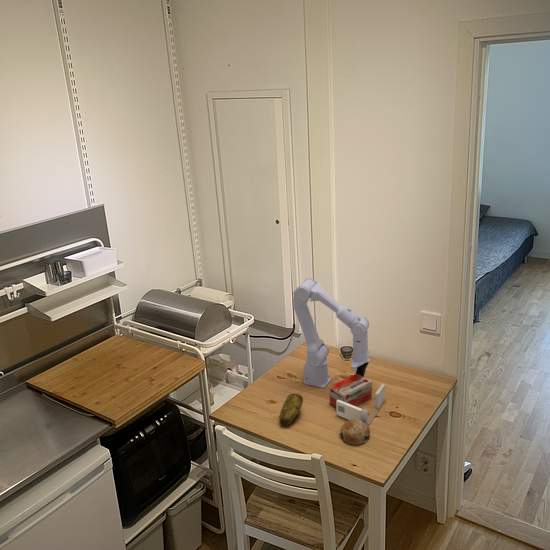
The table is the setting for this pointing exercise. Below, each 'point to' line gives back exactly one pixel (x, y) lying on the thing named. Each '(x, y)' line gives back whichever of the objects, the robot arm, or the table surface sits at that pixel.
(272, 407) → the table surface
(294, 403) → the olive-green oval lump
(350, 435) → the bread roll
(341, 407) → the door
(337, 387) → the medicine box
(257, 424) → the table surface
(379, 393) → the white upright panel
